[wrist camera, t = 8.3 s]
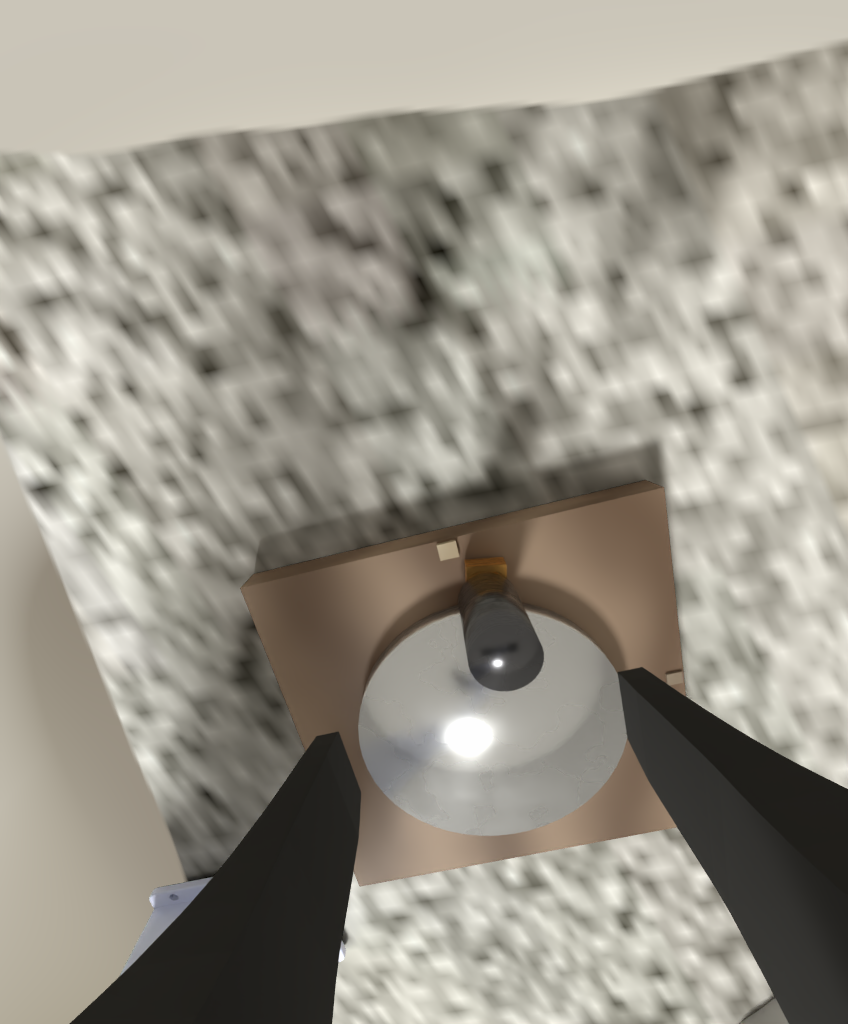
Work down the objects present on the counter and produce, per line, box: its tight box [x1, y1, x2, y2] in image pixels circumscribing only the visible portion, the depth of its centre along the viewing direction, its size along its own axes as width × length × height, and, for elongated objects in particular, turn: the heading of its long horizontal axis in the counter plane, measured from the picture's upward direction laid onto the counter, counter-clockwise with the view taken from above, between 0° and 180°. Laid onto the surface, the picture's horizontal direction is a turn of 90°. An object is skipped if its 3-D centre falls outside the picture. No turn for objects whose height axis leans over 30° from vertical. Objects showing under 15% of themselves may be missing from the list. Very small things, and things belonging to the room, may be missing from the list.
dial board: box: [240, 480, 686, 886], centre depth 21 cm, size 18×18×2 cm
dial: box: [358, 557, 627, 836], centre depth 17 cm, size 14×12×5 cm
